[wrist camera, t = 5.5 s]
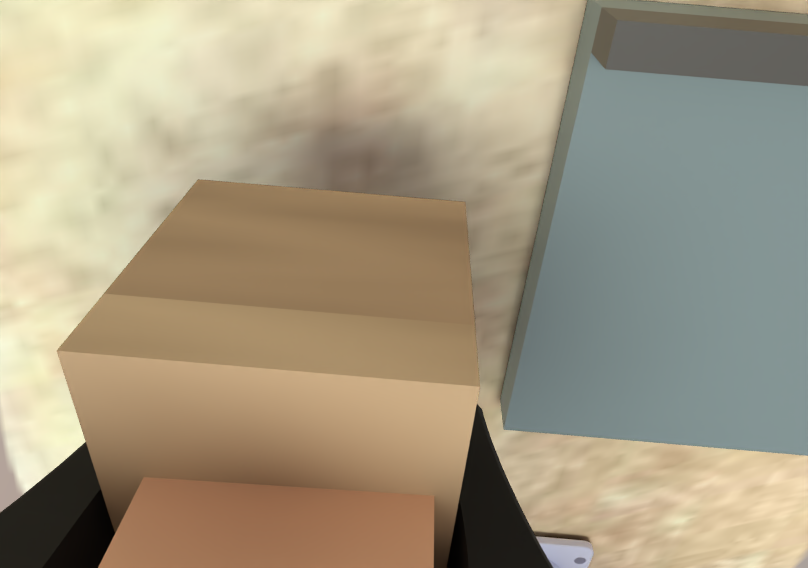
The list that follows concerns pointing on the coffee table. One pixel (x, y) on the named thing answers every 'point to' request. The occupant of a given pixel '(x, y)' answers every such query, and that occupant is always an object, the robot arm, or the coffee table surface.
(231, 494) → the carton
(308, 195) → the tan rectangular block
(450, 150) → the coffee table surface
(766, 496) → the coffee table surface
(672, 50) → the dock
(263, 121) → the coffee table surface
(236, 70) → the coffee table surface
